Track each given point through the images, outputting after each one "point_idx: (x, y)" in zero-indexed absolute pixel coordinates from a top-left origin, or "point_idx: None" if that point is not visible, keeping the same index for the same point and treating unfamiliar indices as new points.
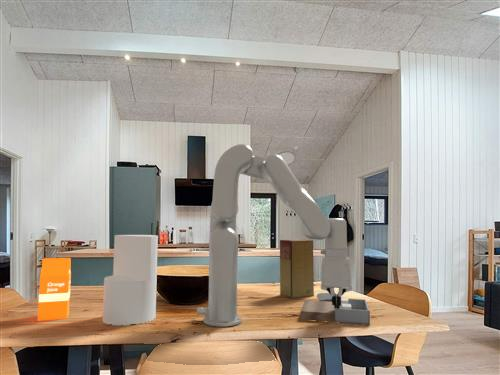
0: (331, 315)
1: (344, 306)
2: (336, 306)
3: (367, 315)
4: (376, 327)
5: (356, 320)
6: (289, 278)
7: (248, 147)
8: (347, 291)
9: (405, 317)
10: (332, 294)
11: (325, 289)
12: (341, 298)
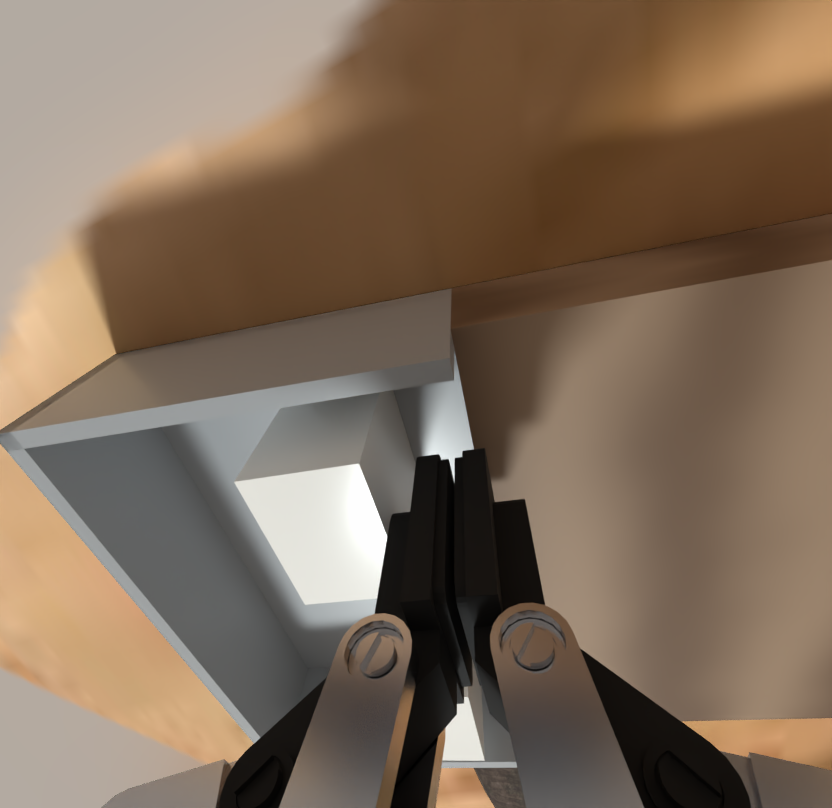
0: (503, 305)
1: (327, 471)
2: None
3: (63, 396)
4: (26, 299)
5: (215, 347)
6: None
7: None
8: (213, 763)
9: (45, 627)
10: (541, 643)
11: (779, 789)
12: (466, 749)
